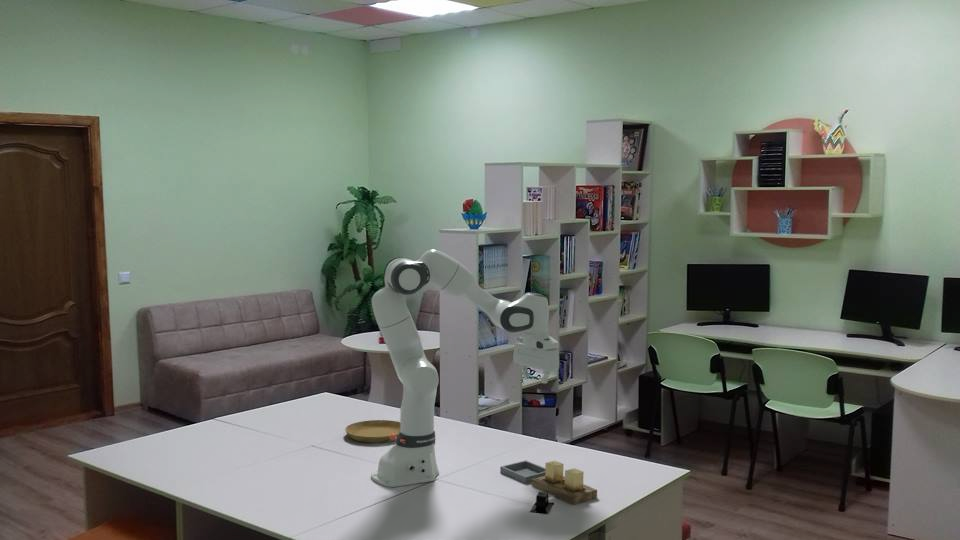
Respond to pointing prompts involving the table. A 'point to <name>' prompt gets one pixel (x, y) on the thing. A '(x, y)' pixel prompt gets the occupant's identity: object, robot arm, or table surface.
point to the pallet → (565, 491)
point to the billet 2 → (574, 480)
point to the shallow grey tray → (523, 471)
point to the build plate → (542, 504)
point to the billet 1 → (554, 472)
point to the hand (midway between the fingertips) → (535, 380)
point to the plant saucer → (373, 430)
